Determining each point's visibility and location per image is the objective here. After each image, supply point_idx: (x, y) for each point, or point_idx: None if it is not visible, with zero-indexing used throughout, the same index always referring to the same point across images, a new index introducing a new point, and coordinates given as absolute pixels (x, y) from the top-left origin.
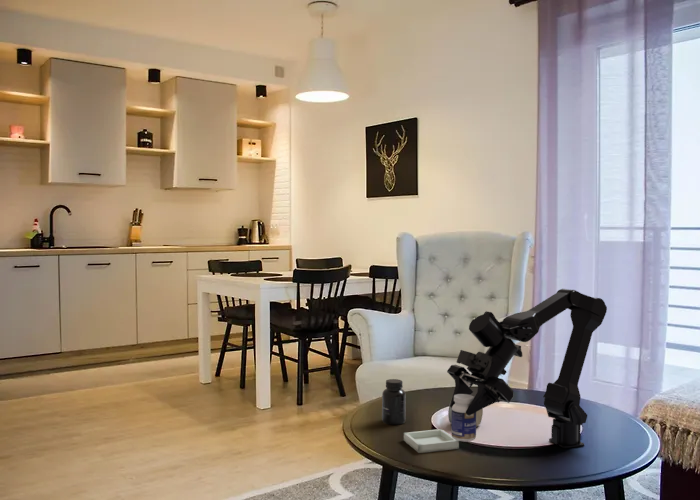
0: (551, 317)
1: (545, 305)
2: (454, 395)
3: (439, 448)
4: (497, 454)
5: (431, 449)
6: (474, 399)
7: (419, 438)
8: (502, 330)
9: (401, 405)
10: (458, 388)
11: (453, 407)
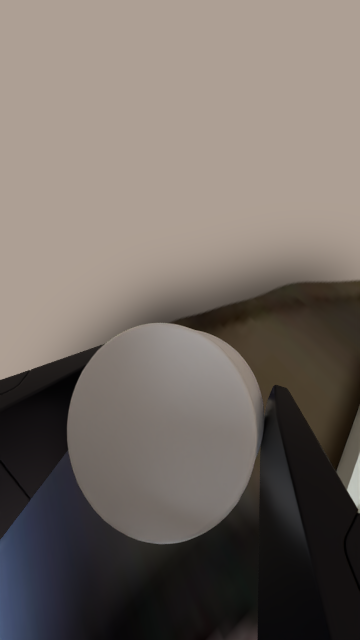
0: None
1: None
2: (234, 371)
3: (349, 448)
4: (202, 547)
5: (358, 421)
6: (32, 380)
7: None
8: None
9: None
10: (325, 602)
11: (214, 339)
